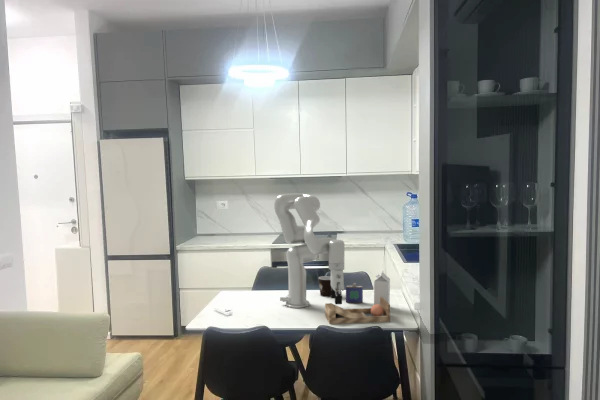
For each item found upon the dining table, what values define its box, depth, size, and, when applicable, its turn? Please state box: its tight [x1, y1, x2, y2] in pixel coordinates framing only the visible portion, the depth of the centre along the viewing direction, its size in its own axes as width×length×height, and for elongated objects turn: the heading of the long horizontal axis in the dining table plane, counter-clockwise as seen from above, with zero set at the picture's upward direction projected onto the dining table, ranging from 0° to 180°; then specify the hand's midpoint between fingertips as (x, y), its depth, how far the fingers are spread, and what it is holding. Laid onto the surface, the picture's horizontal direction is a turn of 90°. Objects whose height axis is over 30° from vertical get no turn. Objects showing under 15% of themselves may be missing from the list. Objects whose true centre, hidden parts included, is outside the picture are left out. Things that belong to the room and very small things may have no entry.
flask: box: [345, 282, 364, 304], centre depth 225 cm, size 9×3×11 cm, turn 87°
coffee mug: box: [318, 275, 332, 298], centre depth 237 cm, size 12×9×10 cm
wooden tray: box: [324, 297, 391, 325], centre depth 201 cm, size 29×13×8 cm, turn 96°
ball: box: [370, 304, 383, 316], centre depth 202 cm, size 6×6×6 cm
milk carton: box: [373, 270, 391, 305], centre depth 215 cm, size 7×7×19 cm
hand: (336, 300), depth 199 cm, fingers open, 9 cm apart
